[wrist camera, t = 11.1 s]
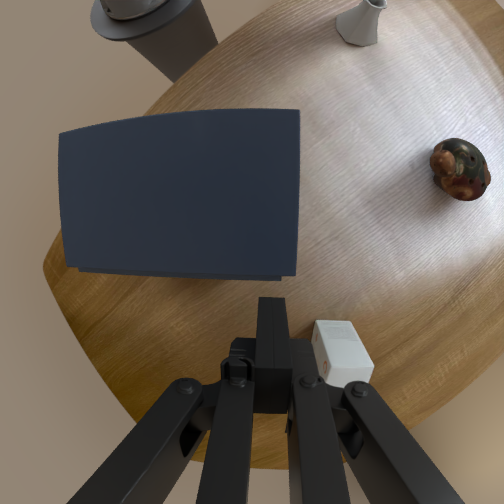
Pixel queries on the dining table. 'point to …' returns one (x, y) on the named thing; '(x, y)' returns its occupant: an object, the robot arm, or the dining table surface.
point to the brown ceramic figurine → (460, 169)
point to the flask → (361, 22)
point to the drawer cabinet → (183, 195)
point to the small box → (340, 353)
